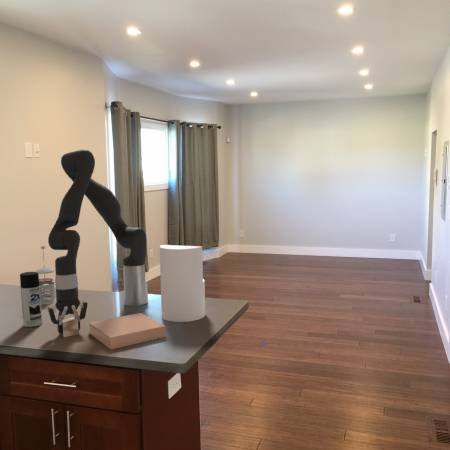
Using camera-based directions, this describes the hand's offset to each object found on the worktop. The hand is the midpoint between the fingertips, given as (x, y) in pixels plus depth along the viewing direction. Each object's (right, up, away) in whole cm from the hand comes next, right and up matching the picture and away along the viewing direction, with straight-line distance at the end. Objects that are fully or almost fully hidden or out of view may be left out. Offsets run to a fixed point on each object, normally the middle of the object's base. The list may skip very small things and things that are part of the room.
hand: (69, 332), depth 180 cm
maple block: (0, 0, 0) cm, 0 cm away
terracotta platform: (+21, 0, -2) cm, 21 cm away
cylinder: (+39, +2, +21) cm, 44 cm away
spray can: (-17, 0, +11) cm, 21 cm away
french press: (-25, +4, +46) cm, 52 cm away
